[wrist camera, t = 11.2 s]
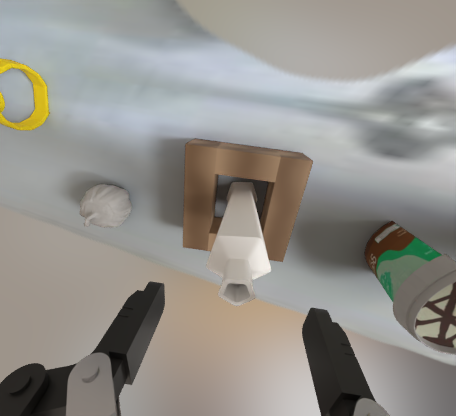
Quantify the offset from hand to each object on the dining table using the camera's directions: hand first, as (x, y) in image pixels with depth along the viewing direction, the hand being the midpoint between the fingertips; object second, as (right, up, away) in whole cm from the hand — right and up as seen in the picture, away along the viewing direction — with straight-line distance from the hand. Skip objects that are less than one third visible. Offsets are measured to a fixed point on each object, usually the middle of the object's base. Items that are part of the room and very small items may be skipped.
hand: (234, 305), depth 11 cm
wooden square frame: (+1, +7, +14) cm, 16 cm away
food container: (+20, -1, +16) cm, 26 cm away
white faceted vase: (+1, +7, +14) cm, 16 cm away
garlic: (-15, +7, +16) cm, 23 cm away
